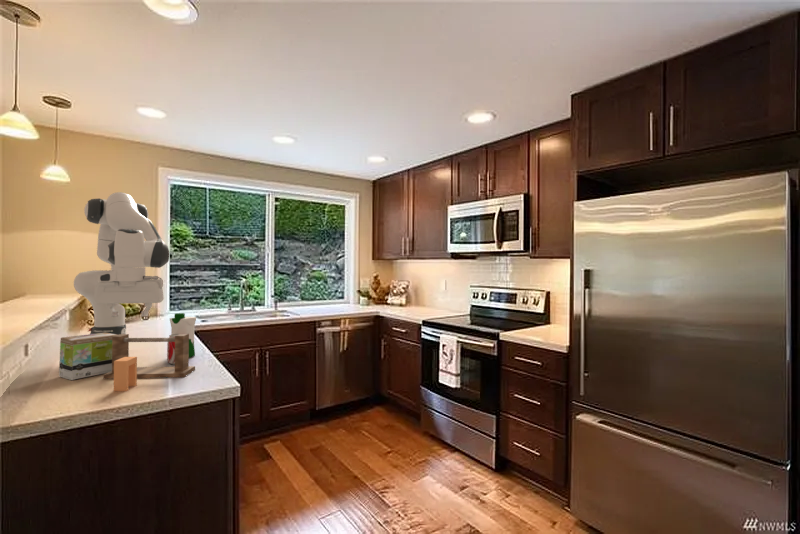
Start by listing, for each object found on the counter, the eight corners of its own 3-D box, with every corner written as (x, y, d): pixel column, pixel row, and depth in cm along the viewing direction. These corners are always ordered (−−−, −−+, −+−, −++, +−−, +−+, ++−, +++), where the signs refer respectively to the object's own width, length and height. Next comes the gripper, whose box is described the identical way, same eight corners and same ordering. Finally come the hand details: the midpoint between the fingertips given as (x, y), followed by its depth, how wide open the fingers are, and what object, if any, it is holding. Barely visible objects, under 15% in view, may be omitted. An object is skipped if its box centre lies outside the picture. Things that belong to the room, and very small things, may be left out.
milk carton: (166, 358, 173) (167, 313, 173) (183, 354, 182) (183, 311, 182) (182, 360, 171) (183, 314, 171) (198, 355, 179) (199, 312, 179)
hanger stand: (103, 378, 142) (103, 337, 142) (119, 371, 152) (120, 333, 152) (184, 377, 145) (184, 337, 145) (195, 369, 155) (195, 332, 155)
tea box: (72, 381, 139) (72, 340, 139) (58, 377, 143) (58, 337, 143) (118, 371, 152) (118, 333, 152) (104, 367, 157) (105, 331, 157)
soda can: (177, 365, 161) (177, 336, 161) (163, 364, 163) (163, 336, 163) (190, 361, 168) (190, 333, 168) (176, 360, 170) (176, 333, 170)
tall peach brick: (113, 391, 128) (113, 361, 128) (124, 385, 134) (124, 356, 134) (126, 390, 129) (126, 360, 129) (136, 385, 135) (136, 356, 135)
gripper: (166, 275, 137) (166, 314, 137) (102, 276, 134) (102, 316, 134) (158, 276, 131) (158, 317, 130) (91, 276, 127) (91, 318, 127)
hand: (129, 316), depth 132 cm, fingers open, 8 cm apart
